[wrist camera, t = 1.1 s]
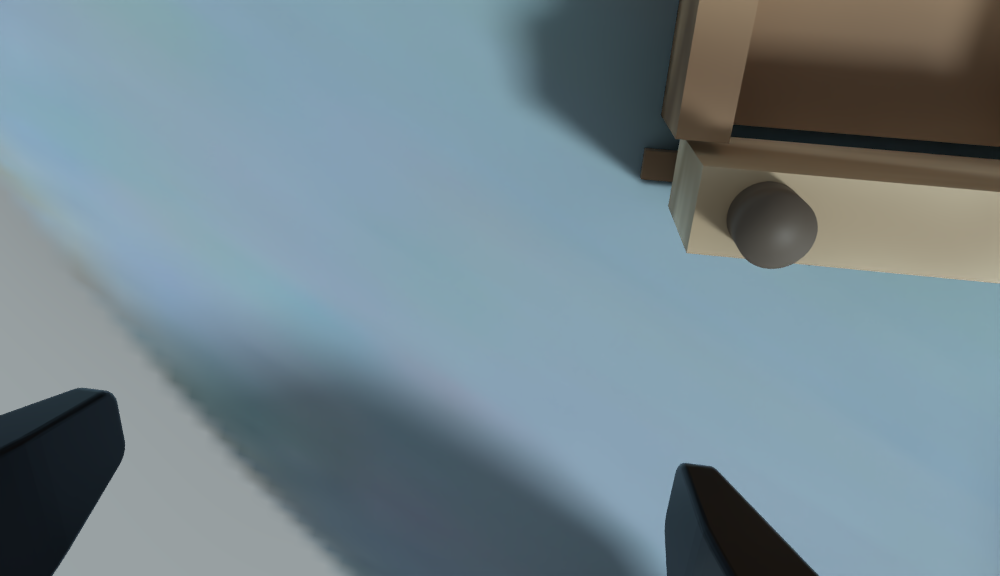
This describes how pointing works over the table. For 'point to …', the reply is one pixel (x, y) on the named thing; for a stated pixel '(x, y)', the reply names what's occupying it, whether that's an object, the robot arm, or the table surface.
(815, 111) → the tray
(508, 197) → the table surface
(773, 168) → the gate
